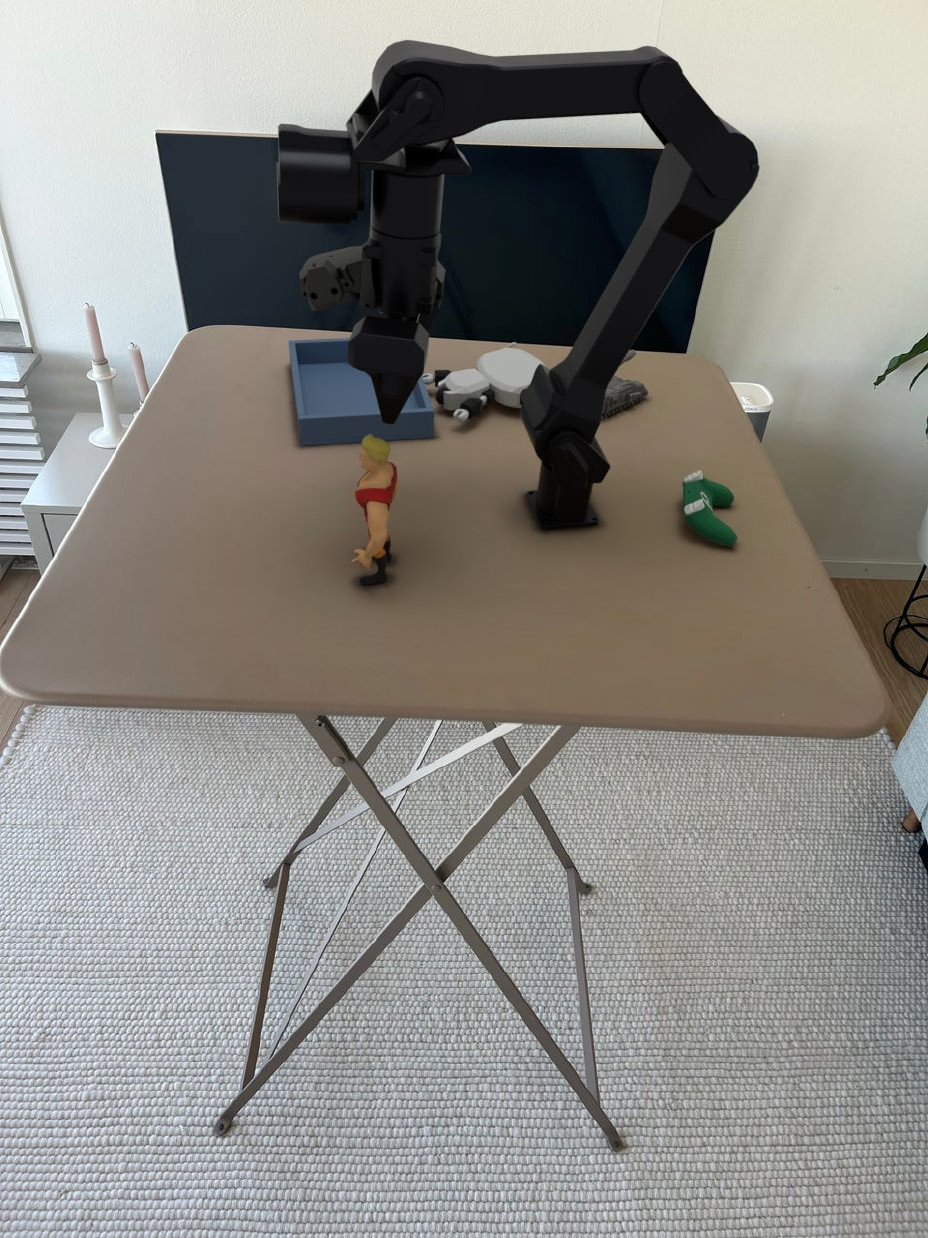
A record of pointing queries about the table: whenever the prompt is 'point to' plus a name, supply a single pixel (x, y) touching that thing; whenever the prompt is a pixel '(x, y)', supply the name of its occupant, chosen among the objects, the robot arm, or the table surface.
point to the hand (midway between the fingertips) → (395, 398)
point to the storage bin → (347, 398)
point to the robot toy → (485, 382)
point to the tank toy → (622, 392)
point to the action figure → (376, 505)
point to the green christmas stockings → (707, 508)
